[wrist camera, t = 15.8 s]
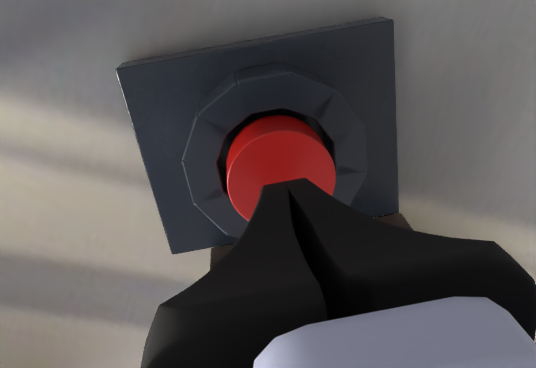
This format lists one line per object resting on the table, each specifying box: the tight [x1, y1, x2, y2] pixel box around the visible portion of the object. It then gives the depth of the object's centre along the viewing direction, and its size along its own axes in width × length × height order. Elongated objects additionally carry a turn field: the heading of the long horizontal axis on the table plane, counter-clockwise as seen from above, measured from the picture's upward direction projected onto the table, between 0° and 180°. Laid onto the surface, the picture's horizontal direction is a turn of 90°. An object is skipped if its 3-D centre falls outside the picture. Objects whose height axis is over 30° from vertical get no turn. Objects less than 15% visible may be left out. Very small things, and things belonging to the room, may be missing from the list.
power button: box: [226, 115, 336, 221], centre depth 15 cm, size 4×4×2 cm
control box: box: [115, 17, 399, 254], centre depth 17 cm, size 10×8×3 cm
